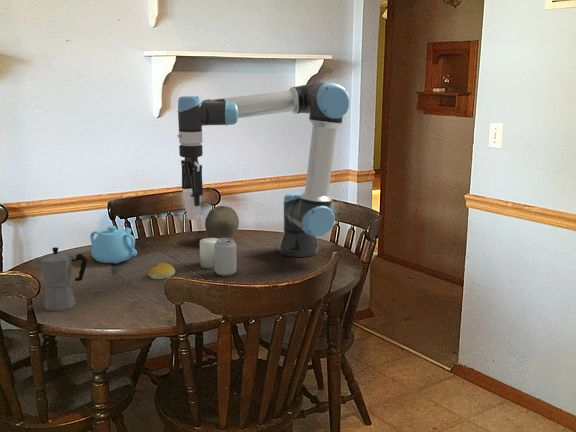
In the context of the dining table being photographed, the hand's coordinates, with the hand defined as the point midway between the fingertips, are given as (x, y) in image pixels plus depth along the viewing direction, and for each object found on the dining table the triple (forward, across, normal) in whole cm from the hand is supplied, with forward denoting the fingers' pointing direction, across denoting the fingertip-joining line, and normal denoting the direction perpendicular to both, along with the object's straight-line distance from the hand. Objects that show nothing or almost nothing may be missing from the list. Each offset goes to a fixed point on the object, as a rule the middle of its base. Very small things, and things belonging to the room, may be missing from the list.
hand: (192, 212), depth 211 cm
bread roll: (+22, -5, -10) cm, 25 cm away
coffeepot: (+22, +9, -44) cm, 50 cm away
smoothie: (+2, 0, 0) cm, 2 cm away
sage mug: (+22, -8, +9) cm, 25 cm away
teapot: (+22, -32, -19) cm, 43 cm away
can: (+22, +3, +10) cm, 25 cm away
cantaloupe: (+22, -33, +24) cm, 47 cm away
